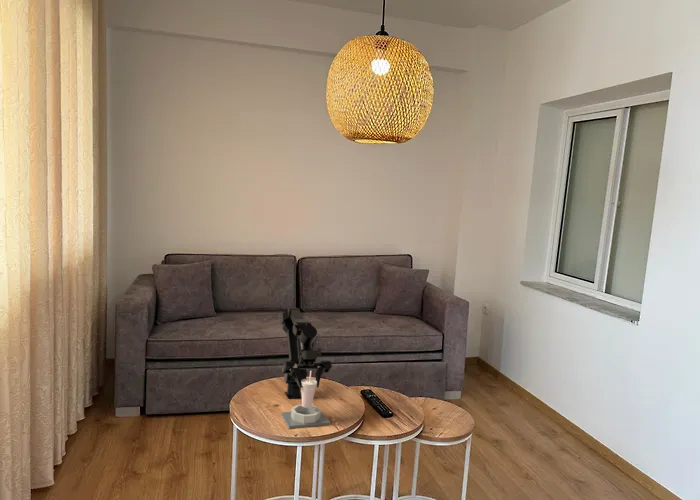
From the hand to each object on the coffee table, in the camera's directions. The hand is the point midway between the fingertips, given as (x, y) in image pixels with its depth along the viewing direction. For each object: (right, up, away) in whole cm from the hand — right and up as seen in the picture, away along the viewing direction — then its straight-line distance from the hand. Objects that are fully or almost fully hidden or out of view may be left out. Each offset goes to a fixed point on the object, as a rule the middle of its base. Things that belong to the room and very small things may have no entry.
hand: (309, 387), depth 195 cm
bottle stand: (-2, -13, +2) cm, 13 cm away
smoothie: (-1, -8, +2) cm, 8 cm away
